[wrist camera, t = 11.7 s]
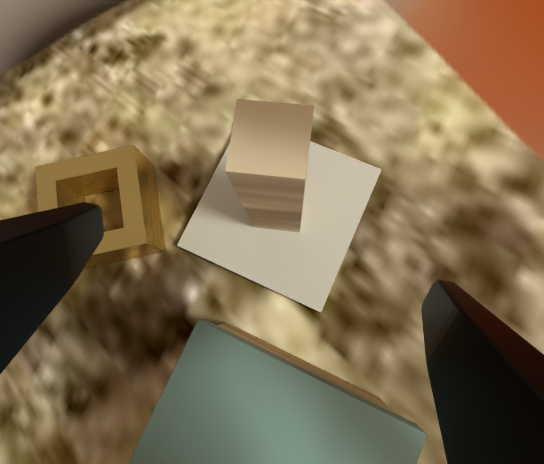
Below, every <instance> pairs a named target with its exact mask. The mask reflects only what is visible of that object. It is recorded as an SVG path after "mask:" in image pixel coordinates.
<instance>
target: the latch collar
mask: <svg viewBox="0 0 544 464" xmlns="http://www.w3.org/2000/svg"><path fill="white" fill-rule="evenodd" d="M35 173H36V190H37V206H38V212H41V211H45V210H50V209H54V208H59V207H63V206H68V205H72V204H77V203H81V202H85V196H88V195H92V194H97V193H101V192H106V191H111V190H115V189H119V191H120V199H121V208H122V217H123V225H124V228H120V229H115V230H110V231H106V232H104V236H103V239H102V241H101V242H100V244H99V245H98V247H97V249H96V250H95V252H94V253H93V255H92V256H91V258H90V259H89V261H88V263H87V264H86V266H85V267H84V269H85V268H90V267H95V266H99V265H104V264H109V263H113V262H118V261H123V260H127V259H132V258H137V257H141V256H146V255H150V254H155V253H160V252H164V251H165V244H164V237H163V230H162V223H161V216H160V209H159V202H158V195H157V187H156V180H155V173H154V166H153V164H152V163H151V162H150V161H149V160H148V159H147V158H146V157H145V156H144V155H143V154H142V153H141V152H140V151H139V150H138V149H137V148H136V147H135V146H134V145H132V146H127V147H123V148H118V149H114V150H109V151H105V152H100V153H96V154H91V155H86V156H82V157H77V158H73V159H68V160H64V161H59V162H55V163H50V164H46V165H41V166H36V167H35Z"/></svg>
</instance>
